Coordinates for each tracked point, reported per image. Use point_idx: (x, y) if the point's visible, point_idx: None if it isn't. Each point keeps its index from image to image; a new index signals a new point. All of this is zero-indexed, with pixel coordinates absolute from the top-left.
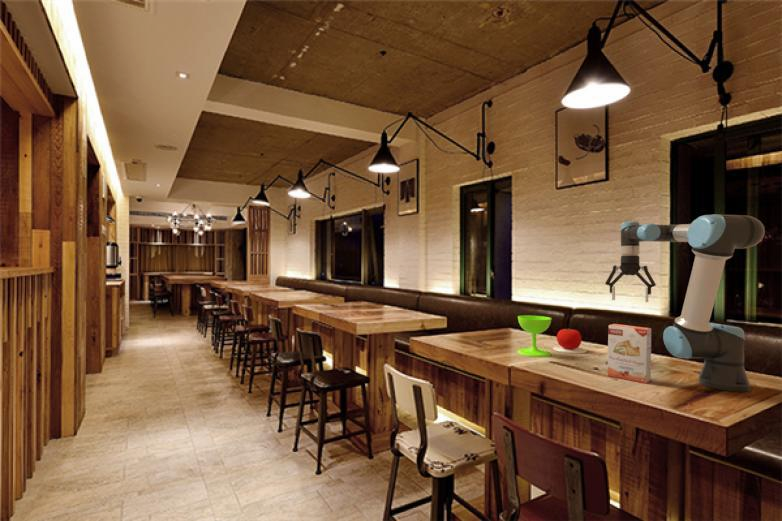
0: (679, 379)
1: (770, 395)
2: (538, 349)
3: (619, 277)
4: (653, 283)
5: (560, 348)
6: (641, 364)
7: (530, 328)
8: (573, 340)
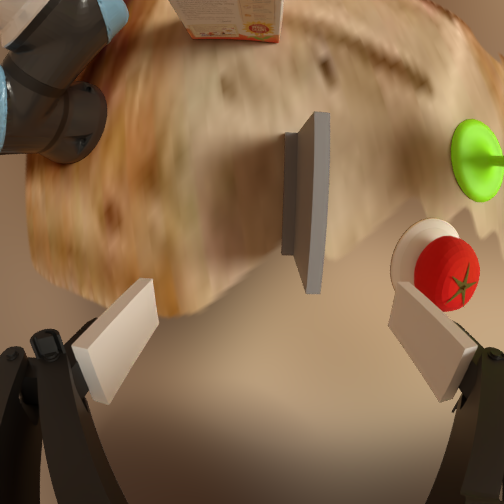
0: (138, 103)
1: None
2: (480, 166)
3: (473, 462)
4: (2, 364)
5: None
6: None
7: None
8: (436, 245)
